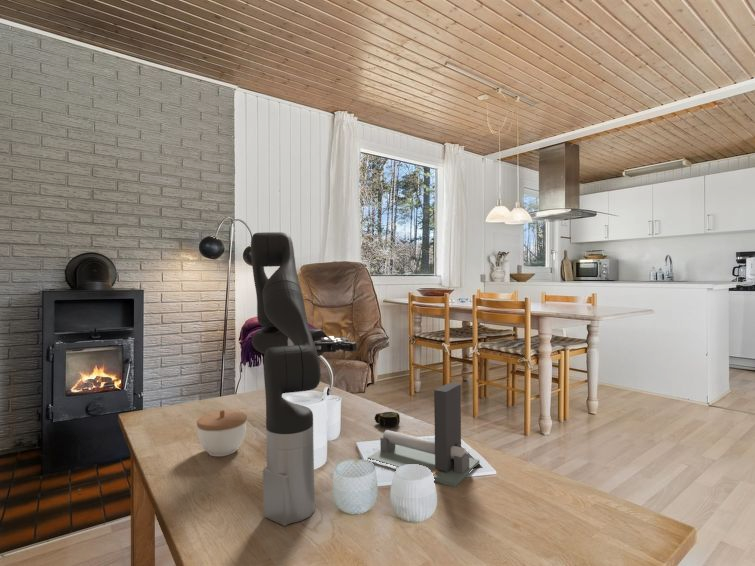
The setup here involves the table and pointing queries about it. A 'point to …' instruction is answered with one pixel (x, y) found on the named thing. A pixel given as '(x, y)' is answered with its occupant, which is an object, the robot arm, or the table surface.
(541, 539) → the table surface
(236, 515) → the table surface
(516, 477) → the table surface
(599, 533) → the table surface
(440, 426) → the dark grey upright pillar
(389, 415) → the tape measure
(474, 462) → the pipe stand
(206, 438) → the lidded bowl
